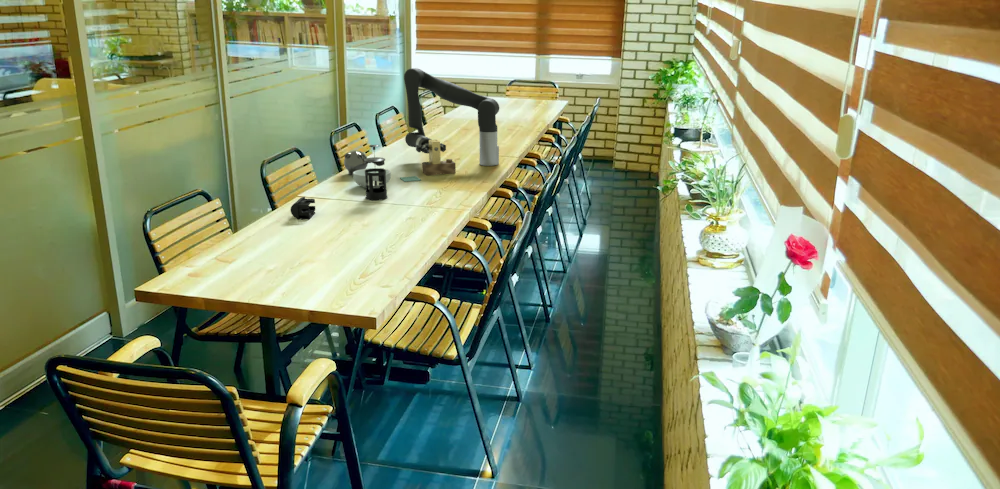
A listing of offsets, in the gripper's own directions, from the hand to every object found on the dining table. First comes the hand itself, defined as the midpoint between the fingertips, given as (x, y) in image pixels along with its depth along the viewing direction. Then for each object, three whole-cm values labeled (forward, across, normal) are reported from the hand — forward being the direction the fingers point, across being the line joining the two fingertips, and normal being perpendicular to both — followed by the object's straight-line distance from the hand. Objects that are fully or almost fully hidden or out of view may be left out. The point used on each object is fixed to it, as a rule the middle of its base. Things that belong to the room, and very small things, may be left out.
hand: (435, 150), depth 369 cm
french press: (+34, -38, +12) cm, 52 cm away
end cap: (+51, -72, +12) cm, 89 cm away
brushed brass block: (-1, 0, +6) cm, 7 cm away
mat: (+7, -15, +12) cm, 20 cm away
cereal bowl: (+14, -35, +12) cm, 39 cm away
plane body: (-1, +2, +12) cm, 12 cm away
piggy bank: (-14, -36, +12) cm, 40 cm away
